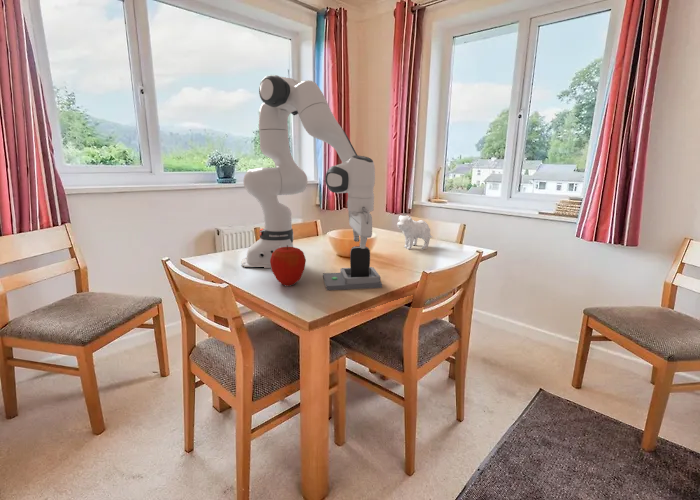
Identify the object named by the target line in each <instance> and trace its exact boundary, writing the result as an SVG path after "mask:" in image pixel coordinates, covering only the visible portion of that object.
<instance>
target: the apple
mask: <svg viewBox="0 0 700 500" xmlns="http://www.w3.org/2000/svg"><path fill="white" fill-rule="evenodd" d="M306 262H307V259H306V256H305V253H304V251H303V250H302V249H300V248H297V247H295V246H293V247H288V245H287V247H281V248H278V249H276V250H275V251H274V252H273V253H272V256H271V259H270V263H271V268H270V269H271V271H272V273H273V275H274V277H275V279H276V280H277V282H279V283H280V284H281V285H282V286H284V285H286V286H285V287H290V285H291V286H293V285H296V283H297V282H299V281H300V280H301V278H302V276H303V273H304V271H305V267H306Z"/></svg>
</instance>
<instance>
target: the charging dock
mask: <svg viewBox="0 0 700 500" xmlns="http://www.w3.org/2000/svg"><path fill="white" fill-rule="evenodd" d="M350 274H351V268H350V267H342V268H340V272H324V273H322V278H323V281H324V285H325V289H326V291H338V290H340V291H342V290H360V289H361V290H363V289H383V283H382V281H381V278H382V277H381V276H380V274H379V273H378V271H377V270H376V269H375V267H372V266H370V268H369V277H350Z"/></svg>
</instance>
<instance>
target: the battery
mask: <svg viewBox="0 0 700 500" xmlns="http://www.w3.org/2000/svg"><path fill="white" fill-rule="evenodd" d="M349 254H350V258H349V263H350V267H349V268H351V274H350V277H369V268H370V267H371V266H370V265H371V250H370V249H369V247H368V246H366V248H364V249H361V248H360V245H359V246H357V245H356V246H355V245H354V246H353V247H351V249H350V251H349Z"/></svg>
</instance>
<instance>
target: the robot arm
mask: <svg viewBox="0 0 700 500" xmlns="http://www.w3.org/2000/svg"><path fill="white" fill-rule="evenodd" d="M258 94H259V98H260V100H261V101H262V104H261V105H260V108H259V114H258V133H259V148H260V151H261V153H262V154H263V155H264V156H265V157H267V158H269V159H270V160H272V161H273V163H274V165H275V167H256V168H252V169H248V170H247V171H246V173H245V174H244V177H243V186H244V189H245V190H246V192H247V193H248V194H249V195H251V196H252V197H253V198H254V199H255V200H257V202H258V203H259V205H260V208H261V210H262V215H263V222H264V228H260V229H259V231H258V232H259V239H258V240H257V241H255V242H254V243H253V244H251V245H250V246H249V248H247V252H246V257H244V258H243V259H242V261H241V264H242V265H241V267H243V266H244V267H243V268H245V267H264V268H263V269H272V268H271V263H270V259H271V256H272V253H273V252H274V251H275V250H276V249H278V248H281V247H287V245H288V247H294V229H293V226H292V225H293V223H292V221H293V220H292V211H291V209H290V208H289V207H288V206H287V205H285V204H283V203H281V202H279V200H278V197H279V196H292V195H296V194H300V193H304V192H305V190H306V189H307V186H308V177H307V174H306V172H305V171H304V170H303V169H302V168H301V167H299V165H298V164H297V163H296V161H295V160H294V158H293V156H292V153H291V150H290V142H289V141H290V140H289V126H288V119H289V116H290V115H292V116H297V115H298V116H299V119H300V122H301V124H302V126H303V128H304V130H305V131H306V132H307V134H308V135H309V136H311V137H313V138H314V139H317V140H320V141H321V142H324V143H327V144H328V145H330V146H331V147H332V148H333V149H334V150H335V151H336V153H337V155H338V157H339V159H340V161H341V163H339V164H335V165H331V166H330V167H329V168H328V169H327V171H326V173H325V177H324V179H325V185H326V188H327V189H328V190H329V192H331V193H334V194H346V193H347V201H346V207H347V211H348V212H347V213H348V224H349V227H350V228H351V229H352V232H353V233H352V234H353V242H355V243H357V242H359V246H360V248H361V249H364V248H366V247H367V246H366V245H367V242H368V239H369V238H372V235H373V216H372V214H371V212H373V211H374V207H375V206H374V205H375V194H374V187H375V184H376V168H375V162H374V160H373V159H372V158H370V157H368V156H365V155H358V154H357V152H356V150H355V148H354V146H353V144H352V142H351V140H350V138H349V136H348V135H347V134H346V132H345V130H344V129H343V127H342V126H341V125H340V124H339V121H338V120H337V119H336V117H335V116H334V114H333V112H332V110H331V108H330V105H329V103H328V101H327V98H326V97H325V95H324V93H323V92H322V89H321V88H320V87H319V86H318V84H317V83H316V82H314V81H313V80H308V79H307V80H302V81H299V80H297V79H294V78H291V77H286V76H285V77H284V76H279V75H276V74H269V75H265V76H264V77H263V78H262V79H261V81H260V83H259V87H258Z"/></svg>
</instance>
